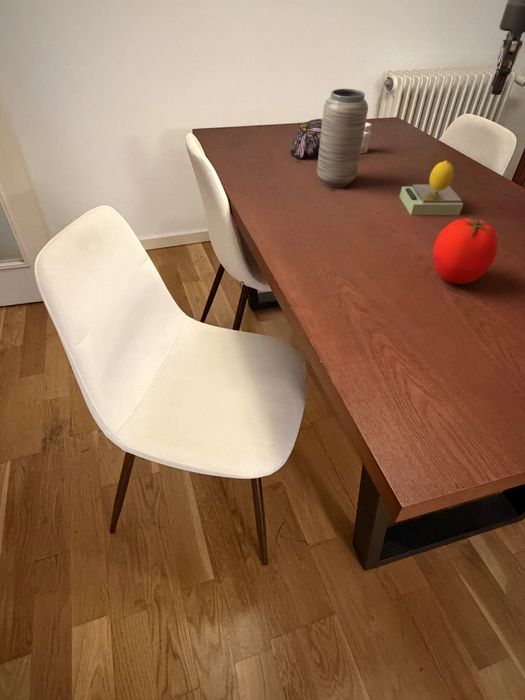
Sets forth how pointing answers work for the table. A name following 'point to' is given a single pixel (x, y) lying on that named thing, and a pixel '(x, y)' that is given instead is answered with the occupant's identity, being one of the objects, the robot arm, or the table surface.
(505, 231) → the table surface
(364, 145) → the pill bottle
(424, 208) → the scale
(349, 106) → the vase
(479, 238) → the tomato
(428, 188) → the scale pan
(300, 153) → the decorative flower
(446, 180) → the lemon
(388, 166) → the table surface
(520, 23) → the robot arm
